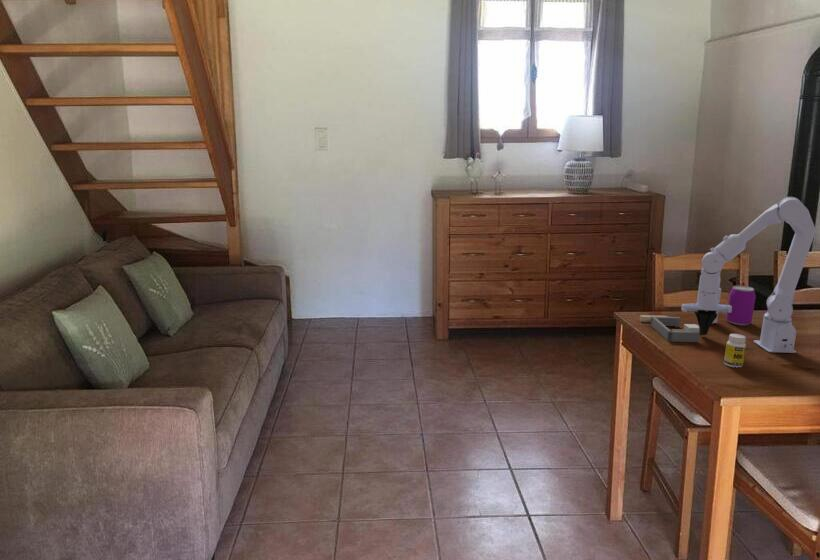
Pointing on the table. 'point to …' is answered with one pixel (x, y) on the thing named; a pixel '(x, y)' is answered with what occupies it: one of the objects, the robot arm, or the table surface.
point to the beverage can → (741, 305)
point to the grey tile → (691, 328)
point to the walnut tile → (677, 330)
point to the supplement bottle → (735, 350)
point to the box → (673, 336)
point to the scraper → (648, 317)
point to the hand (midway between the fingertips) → (703, 333)
